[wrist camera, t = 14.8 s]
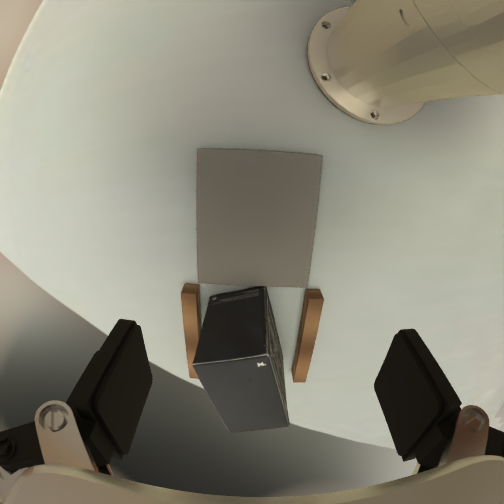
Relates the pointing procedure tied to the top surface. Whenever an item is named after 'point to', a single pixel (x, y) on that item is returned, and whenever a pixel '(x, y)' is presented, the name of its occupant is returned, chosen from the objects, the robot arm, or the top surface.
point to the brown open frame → (305, 336)
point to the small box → (242, 361)
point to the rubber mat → (256, 216)
